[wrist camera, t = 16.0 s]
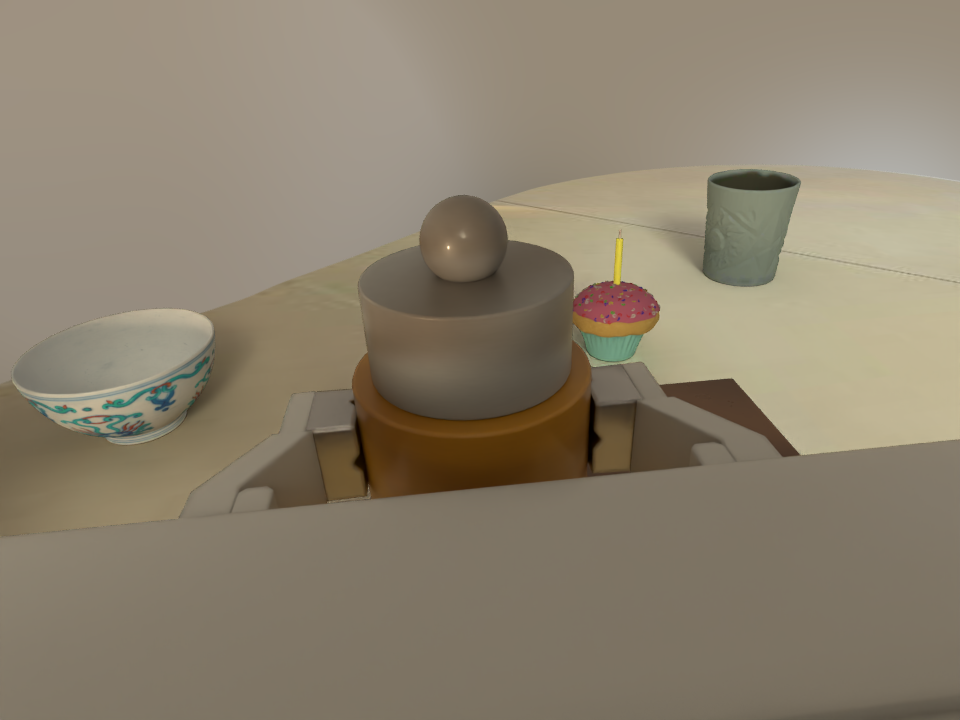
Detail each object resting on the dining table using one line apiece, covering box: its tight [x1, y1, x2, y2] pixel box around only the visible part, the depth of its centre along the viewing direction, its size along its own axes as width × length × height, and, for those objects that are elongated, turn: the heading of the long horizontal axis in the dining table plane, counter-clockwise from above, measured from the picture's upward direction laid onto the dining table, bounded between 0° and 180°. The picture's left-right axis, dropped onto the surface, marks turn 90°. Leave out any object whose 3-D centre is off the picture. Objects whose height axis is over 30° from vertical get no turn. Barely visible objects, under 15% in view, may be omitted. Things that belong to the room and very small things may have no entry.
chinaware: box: [11, 308, 215, 445], centre depth 53 cm, size 15×15×8 cm
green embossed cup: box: [703, 169, 801, 286], centre depth 76 cm, size 10×10×12 cm
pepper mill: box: [352, 195, 592, 499], centre depth 15 cm, size 5×5×17 cm
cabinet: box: [587, 378, 800, 477], centre depth 36 cm, size 16×14×9 cm
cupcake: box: [573, 230, 660, 361], centre depth 60 cm, size 9×8×12 cm
